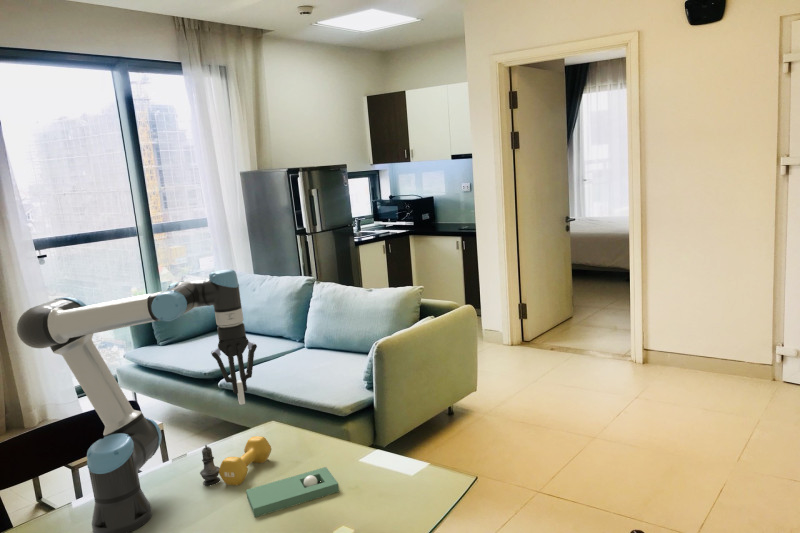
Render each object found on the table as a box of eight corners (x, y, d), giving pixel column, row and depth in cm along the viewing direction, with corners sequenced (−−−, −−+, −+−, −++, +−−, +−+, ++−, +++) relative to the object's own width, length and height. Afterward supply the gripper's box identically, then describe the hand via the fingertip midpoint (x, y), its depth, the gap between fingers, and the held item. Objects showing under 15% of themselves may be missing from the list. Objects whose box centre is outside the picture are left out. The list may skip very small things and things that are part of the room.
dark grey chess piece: (202, 488, 186) (196, 450, 184) (200, 480, 191) (194, 443, 190) (222, 482, 188) (216, 445, 186) (220, 475, 194) (214, 438, 192)
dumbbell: (243, 488, 184) (239, 462, 182) (217, 486, 186) (213, 461, 185) (275, 458, 201) (272, 435, 200) (251, 457, 204) (247, 434, 203)
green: (254, 517, 166) (253, 508, 166) (247, 497, 177) (245, 489, 177) (339, 491, 175) (338, 483, 175) (327, 474, 186) (326, 466, 186)
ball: (308, 494, 176) (303, 482, 175) (304, 489, 179) (299, 477, 178) (321, 487, 177) (316, 475, 176) (317, 482, 181) (312, 470, 180)
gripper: (208, 330, 170) (220, 412, 173) (255, 322, 175) (266, 401, 178) (205, 326, 177) (217, 404, 180) (251, 317, 182) (261, 394, 185)
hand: (242, 402), depth 179 cm, fingers closed
